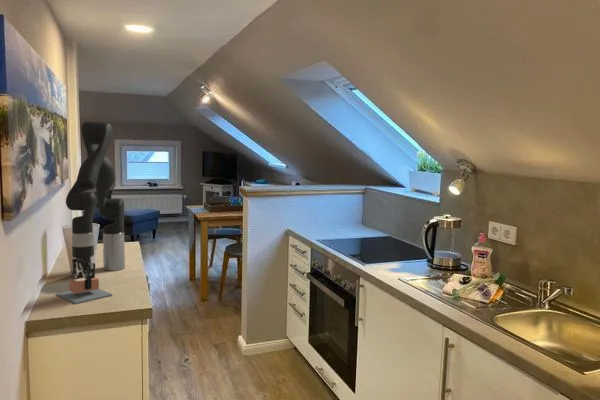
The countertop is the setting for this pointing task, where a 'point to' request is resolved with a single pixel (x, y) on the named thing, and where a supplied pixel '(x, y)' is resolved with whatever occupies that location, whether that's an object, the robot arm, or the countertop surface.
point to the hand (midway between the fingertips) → (84, 287)
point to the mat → (83, 295)
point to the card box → (82, 285)
